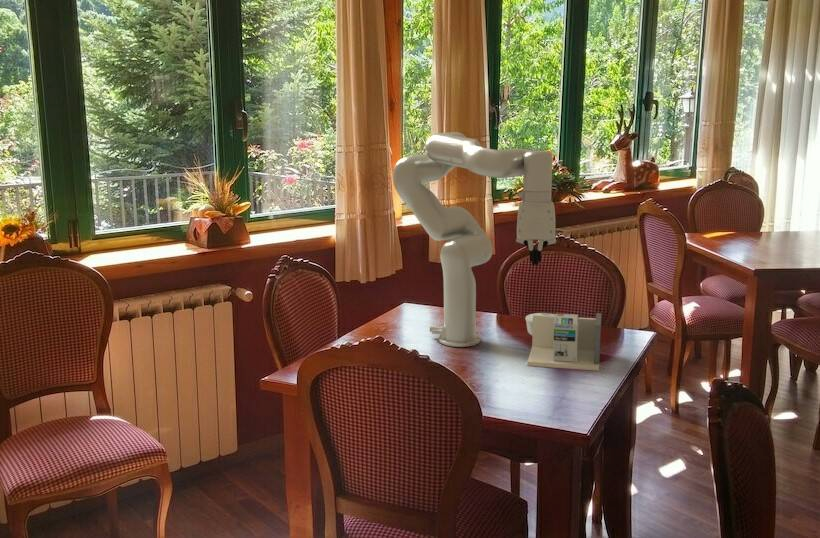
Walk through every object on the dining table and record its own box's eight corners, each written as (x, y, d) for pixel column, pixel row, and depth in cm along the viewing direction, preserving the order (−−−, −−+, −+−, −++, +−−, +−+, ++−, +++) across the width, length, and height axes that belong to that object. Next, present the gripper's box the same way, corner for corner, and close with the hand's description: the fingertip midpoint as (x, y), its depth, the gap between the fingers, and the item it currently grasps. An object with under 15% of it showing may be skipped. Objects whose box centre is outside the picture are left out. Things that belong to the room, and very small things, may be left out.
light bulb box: (577, 362, 216) (578, 324, 213) (552, 361, 217) (553, 323, 215) (577, 350, 226) (579, 313, 224) (553, 349, 227) (554, 312, 225)
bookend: (593, 364, 214) (595, 324, 212) (594, 350, 226) (596, 313, 223) (599, 364, 214) (600, 325, 212) (599, 350, 225) (601, 313, 223)
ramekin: (566, 331, 248) (567, 315, 247) (555, 341, 239) (556, 324, 238) (532, 327, 254) (532, 311, 252) (520, 336, 244) (520, 319, 243)
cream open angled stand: (527, 365, 217) (528, 329, 215) (532, 348, 231) (533, 315, 229) (598, 370, 213) (600, 334, 211) (599, 353, 227) (601, 318, 225)
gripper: (507, 198, 211) (506, 266, 215) (564, 199, 208) (562, 268, 212) (510, 195, 218) (509, 260, 222) (566, 196, 215) (564, 262, 219)
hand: (535, 264), depth 217 cm, fingers closed
